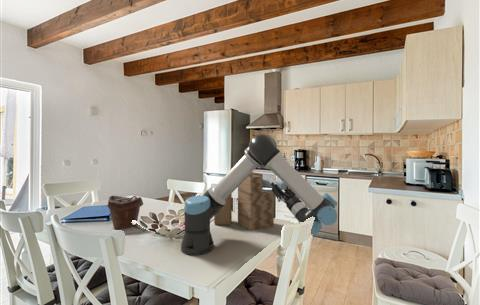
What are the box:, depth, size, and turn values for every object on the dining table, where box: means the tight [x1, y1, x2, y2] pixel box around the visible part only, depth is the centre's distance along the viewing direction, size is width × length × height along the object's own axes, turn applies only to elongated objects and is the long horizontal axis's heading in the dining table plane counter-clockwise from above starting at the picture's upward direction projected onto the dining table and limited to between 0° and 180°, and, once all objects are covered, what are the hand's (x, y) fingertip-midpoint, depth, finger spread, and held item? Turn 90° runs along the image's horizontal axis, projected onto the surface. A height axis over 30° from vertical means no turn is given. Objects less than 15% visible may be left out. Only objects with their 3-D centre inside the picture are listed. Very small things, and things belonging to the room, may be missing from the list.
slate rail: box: [263, 177, 286, 191], centre depth 145 cm, size 4×26×4 cm, turn 27°
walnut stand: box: [237, 171, 275, 231], centre depth 151 cm, size 16×16×32 cm
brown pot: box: [107, 195, 144, 229], centre depth 149 cm, size 18×20×18 cm
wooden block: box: [213, 192, 233, 226], centre depth 153 cm, size 10×10×20 cm
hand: (273, 179), depth 141 cm, fingers closed on slate rail, 3 cm apart
